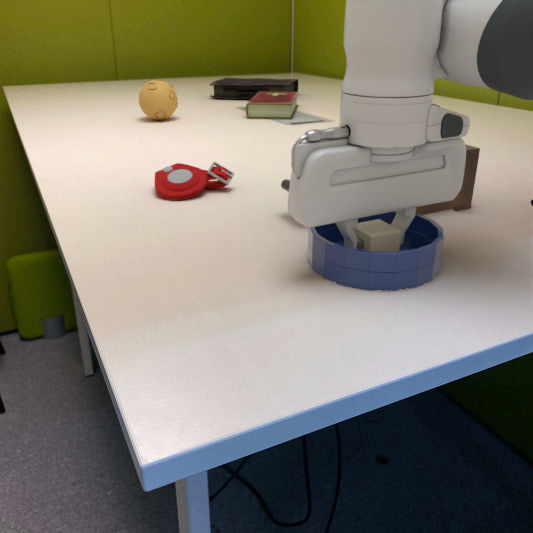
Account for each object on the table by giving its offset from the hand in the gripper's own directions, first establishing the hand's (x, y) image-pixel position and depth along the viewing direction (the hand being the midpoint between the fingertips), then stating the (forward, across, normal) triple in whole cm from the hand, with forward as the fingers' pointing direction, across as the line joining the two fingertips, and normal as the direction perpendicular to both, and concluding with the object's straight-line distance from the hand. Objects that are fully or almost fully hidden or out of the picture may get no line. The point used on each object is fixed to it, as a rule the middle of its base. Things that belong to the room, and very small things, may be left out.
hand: (373, 249), depth 60 cm
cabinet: (+2, +17, +15) cm, 23 cm away
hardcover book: (+2, +35, +94) cm, 100 cm away
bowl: (+2, 0, 0) cm, 2 cm away
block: (+1, 0, 0) cm, 1 cm away
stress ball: (+2, +4, +98) cm, 98 cm away
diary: (+2, +43, +123) cm, 130 cm away
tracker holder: (+2, -9, +35) cm, 36 cm away
